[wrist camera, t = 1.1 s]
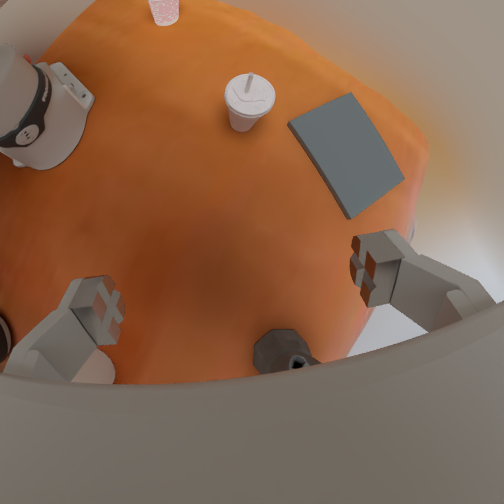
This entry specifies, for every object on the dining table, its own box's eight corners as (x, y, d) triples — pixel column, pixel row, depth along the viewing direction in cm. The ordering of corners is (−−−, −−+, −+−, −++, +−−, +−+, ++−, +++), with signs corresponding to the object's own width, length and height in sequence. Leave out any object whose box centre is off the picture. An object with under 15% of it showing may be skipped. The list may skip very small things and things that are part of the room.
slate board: (286, 124, 41) (289, 121, 40) (347, 95, 43) (351, 92, 41) (347, 219, 44) (351, 219, 42) (400, 180, 45) (404, 178, 44)
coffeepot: (238, 328, 42) (258, 387, 24) (295, 307, 43) (347, 350, 26) (268, 403, 44) (296, 474, 26) (318, 383, 45) (365, 443, 27)
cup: (75, 339, 38) (27, 380, 23) (118, 356, 40) (83, 409, 24) (72, 377, 38) (32, 425, 23) (112, 394, 40) (83, 451, 24)
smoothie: (229, 99, 40) (238, 48, 26) (267, 111, 41) (290, 66, 27) (214, 132, 40) (218, 88, 26) (254, 145, 41) (275, 107, 27)
